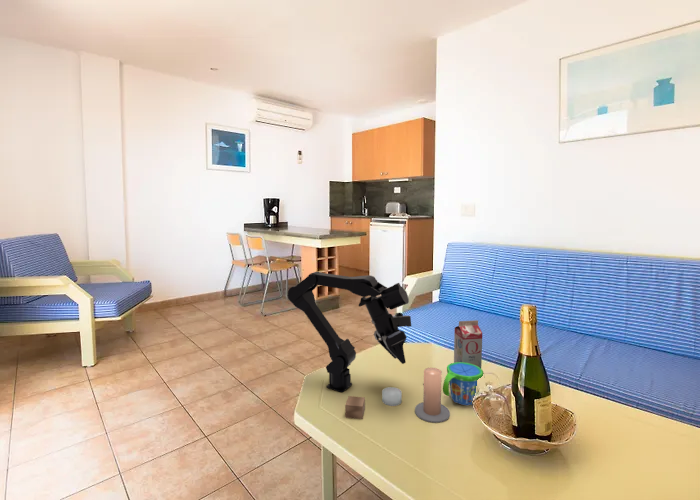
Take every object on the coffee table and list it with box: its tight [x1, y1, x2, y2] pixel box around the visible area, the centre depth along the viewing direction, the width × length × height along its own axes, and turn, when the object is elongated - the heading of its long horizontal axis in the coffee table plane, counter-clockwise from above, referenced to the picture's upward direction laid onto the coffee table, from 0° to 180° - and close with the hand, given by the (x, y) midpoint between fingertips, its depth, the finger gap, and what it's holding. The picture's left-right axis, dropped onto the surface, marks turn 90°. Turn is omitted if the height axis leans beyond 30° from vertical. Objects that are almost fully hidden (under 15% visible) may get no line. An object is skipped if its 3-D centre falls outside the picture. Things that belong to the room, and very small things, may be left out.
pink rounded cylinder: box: [422, 367, 443, 415], centre depth 104 cm, size 5×5×12 cm
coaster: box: [414, 401, 451, 424], centre depth 105 cm, size 10×10×1 cm
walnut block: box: [344, 395, 366, 420], centre depth 105 cm, size 5×5×4 cm
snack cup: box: [442, 362, 485, 407], centre depth 111 cm, size 16×10×10 cm
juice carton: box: [453, 319, 483, 369], centre depth 121 cm, size 7×7×22 cm
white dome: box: [381, 386, 403, 407], centre depth 111 cm, size 6×6×3 cm
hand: (400, 360), depth 111 cm, fingers open, 9 cm apart
